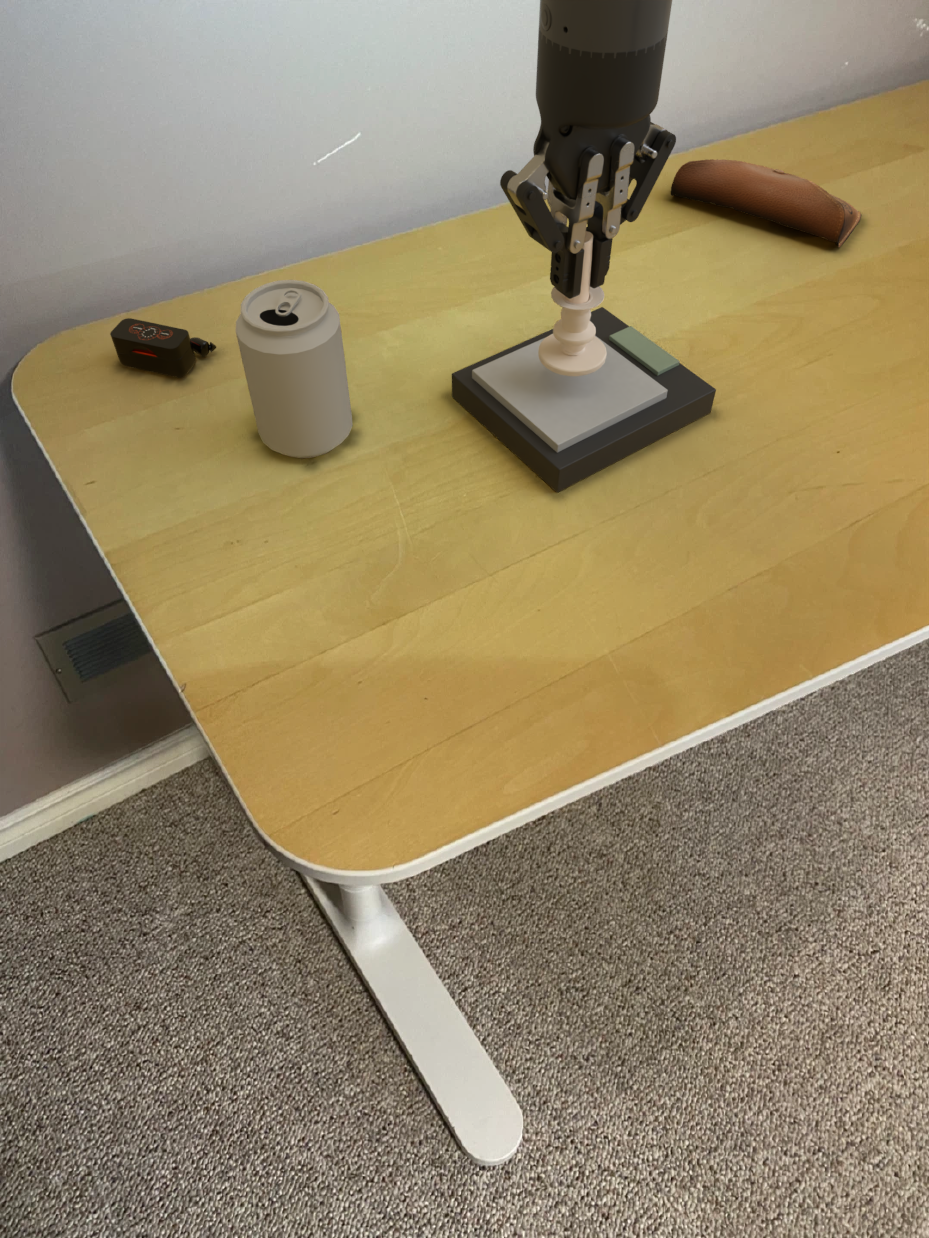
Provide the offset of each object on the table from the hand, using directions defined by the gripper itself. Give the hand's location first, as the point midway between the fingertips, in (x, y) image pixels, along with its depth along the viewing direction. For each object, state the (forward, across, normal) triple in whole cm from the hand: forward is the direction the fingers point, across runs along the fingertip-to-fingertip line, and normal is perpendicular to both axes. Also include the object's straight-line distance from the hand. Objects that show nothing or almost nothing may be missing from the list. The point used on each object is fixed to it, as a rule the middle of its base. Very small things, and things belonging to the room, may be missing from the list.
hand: (578, 286), depth 69 cm
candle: (+6, 0, 0) cm, 6 cm away
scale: (+12, +2, 0) cm, 12 cm away
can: (+12, -18, +10) cm, 24 cm away
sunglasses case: (+12, +36, +13) cm, 41 cm away
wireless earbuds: (+12, -24, +25) cm, 36 cm away
